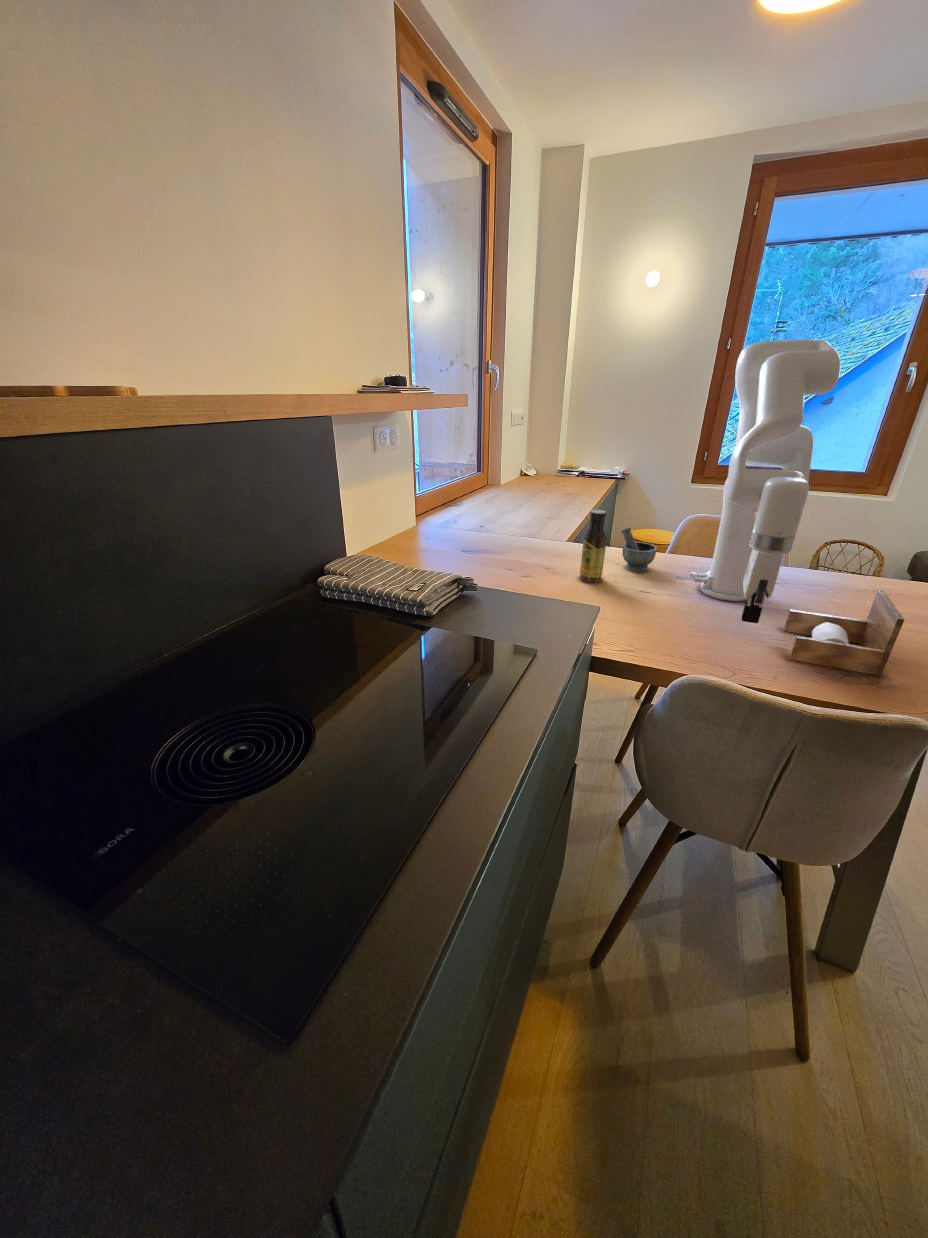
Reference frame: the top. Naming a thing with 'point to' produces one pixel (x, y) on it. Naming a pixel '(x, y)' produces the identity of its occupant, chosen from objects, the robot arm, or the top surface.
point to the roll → (830, 633)
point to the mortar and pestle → (637, 552)
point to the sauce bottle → (594, 548)
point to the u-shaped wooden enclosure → (849, 638)
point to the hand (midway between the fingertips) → (749, 620)
